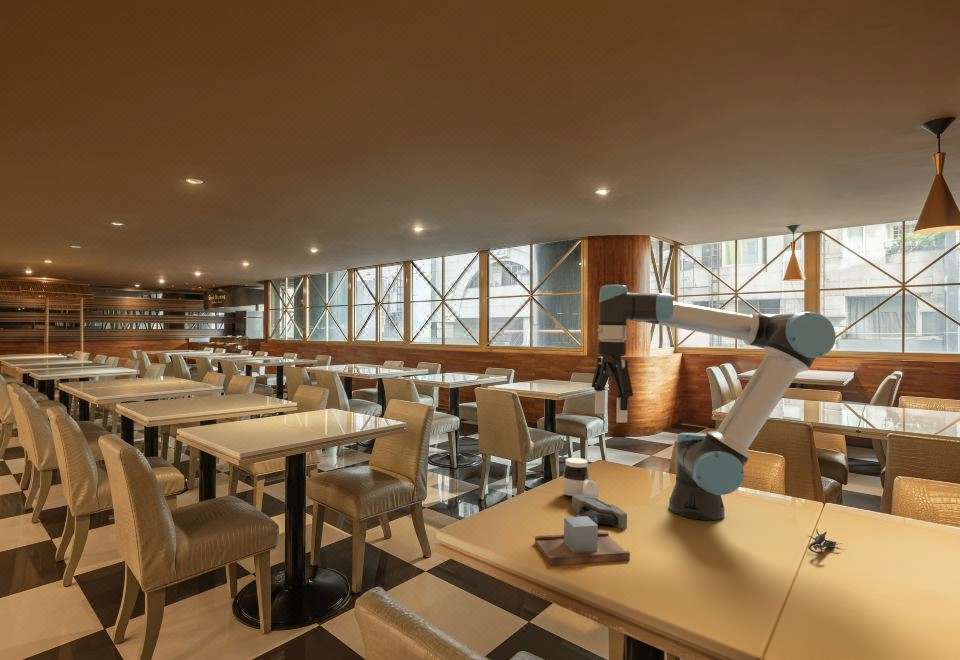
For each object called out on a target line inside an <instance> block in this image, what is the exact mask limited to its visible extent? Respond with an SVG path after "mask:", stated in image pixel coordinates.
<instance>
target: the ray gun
mask: <svg viewBox="0 0 960 660" xmlns="http://www.w3.org/2000/svg"><path fill="white" fill-rule="evenodd" d="M571 509H572V510H573V511H574V512H575V513H577V514H576V516H575V517H582V516H588V517H589V518H590V519H591V520H592V521H593V522H595V523H596V524H597V525H607V526H613V527H615V528H617V529H618V530H625V529H627V528H628V514H627V512H626V511H624V510H622V509H621V508H620V507H618V506H616V505H614V504H611V503H607V502H605V501H603V500H601V499H600V498H599V499H598V498H597V497H596V496H594V495H592V494H575V495H572V500H571Z"/></svg>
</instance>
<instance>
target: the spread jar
mask: <svg viewBox="0 0 960 660" xmlns="http://www.w3.org/2000/svg"><path fill="white" fill-rule="evenodd" d="M562 477H563V484H562V494H563V498H565V499H567V500H570V501H572V495H575V494H592V495H594V496H596V497H597V498H598V499H599V500H600V489H599V486H598V485H597V483H596V482H595V480H589V479H590V478H589V477H590V474H589V467H588V460H587V459H585V458H582V457H581V458H580V457H568V458H565V466H564V469H563V475H562Z"/></svg>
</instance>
